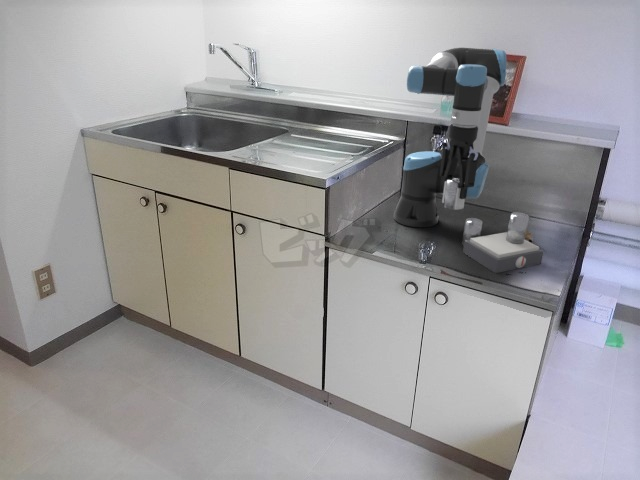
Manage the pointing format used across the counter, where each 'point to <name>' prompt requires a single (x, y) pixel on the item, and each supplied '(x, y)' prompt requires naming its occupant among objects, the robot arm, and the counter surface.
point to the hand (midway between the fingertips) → (452, 205)
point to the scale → (502, 252)
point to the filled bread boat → (528, 237)
